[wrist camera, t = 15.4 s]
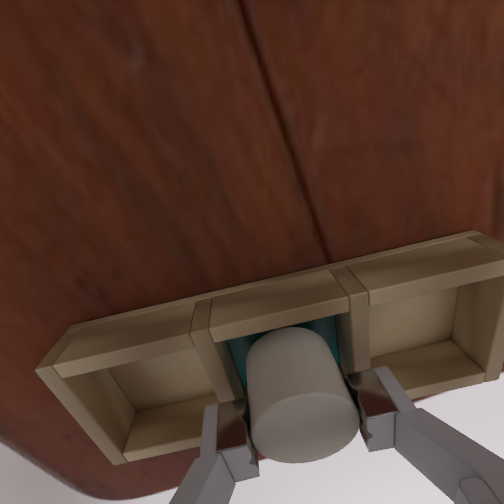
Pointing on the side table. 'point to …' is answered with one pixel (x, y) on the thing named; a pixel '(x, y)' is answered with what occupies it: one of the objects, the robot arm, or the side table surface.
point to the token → (297, 397)
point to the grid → (275, 317)
